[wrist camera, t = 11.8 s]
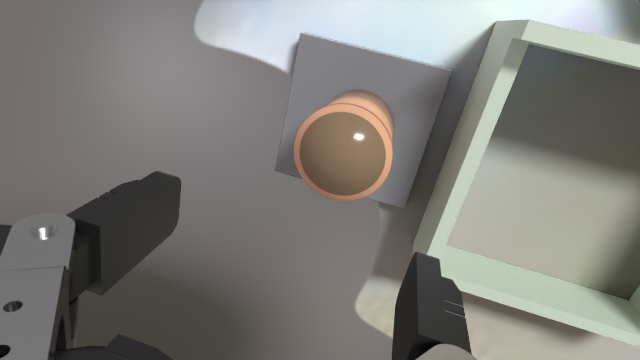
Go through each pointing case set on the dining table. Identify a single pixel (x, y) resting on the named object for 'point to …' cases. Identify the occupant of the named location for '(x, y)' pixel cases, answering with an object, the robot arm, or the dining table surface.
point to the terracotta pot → (346, 146)
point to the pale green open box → (461, 165)
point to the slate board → (374, 76)
